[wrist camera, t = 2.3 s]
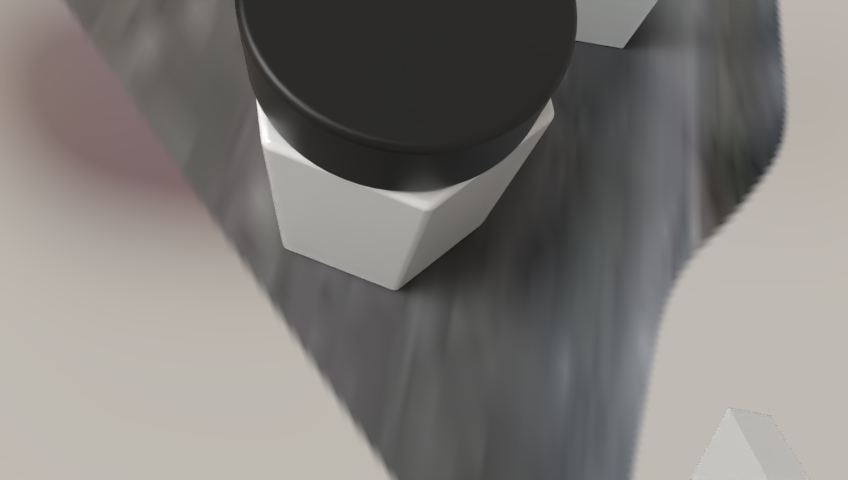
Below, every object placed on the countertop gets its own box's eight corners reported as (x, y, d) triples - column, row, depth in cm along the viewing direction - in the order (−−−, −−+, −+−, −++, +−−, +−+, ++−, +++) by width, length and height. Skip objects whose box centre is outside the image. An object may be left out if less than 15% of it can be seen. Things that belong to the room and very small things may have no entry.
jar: (513, 136, 29) (634, -69, 18) (448, 317, 26) (541, 213, 15) (311, 57, 29) (302, -203, 17) (226, 230, 26) (150, 59, 15)
